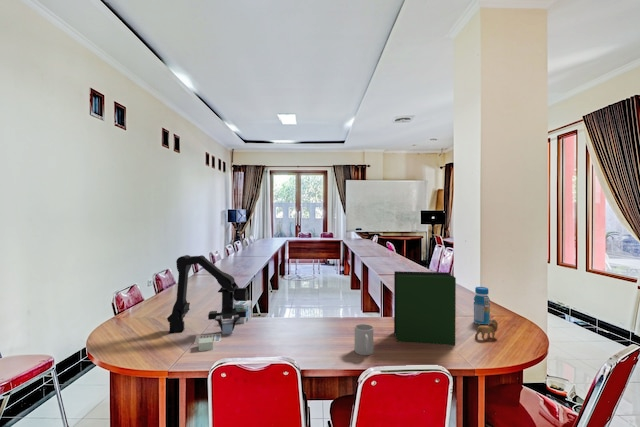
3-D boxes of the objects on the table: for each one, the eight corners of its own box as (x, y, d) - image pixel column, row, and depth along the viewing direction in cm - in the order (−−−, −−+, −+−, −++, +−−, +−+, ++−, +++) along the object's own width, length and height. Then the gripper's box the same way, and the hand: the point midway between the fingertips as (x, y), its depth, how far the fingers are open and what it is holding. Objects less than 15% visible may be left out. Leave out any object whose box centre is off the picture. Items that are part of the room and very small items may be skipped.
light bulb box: (244, 324, 188) (244, 304, 188) (233, 323, 189) (233, 304, 189) (252, 318, 198) (252, 300, 198) (241, 317, 200) (241, 299, 200)
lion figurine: (490, 334, 173) (490, 317, 173) (500, 337, 169) (500, 319, 169) (471, 339, 167) (471, 321, 166) (481, 343, 162) (481, 324, 162)
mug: (353, 347, 156) (353, 324, 156) (371, 347, 156) (371, 323, 156) (357, 359, 144) (357, 333, 144) (376, 358, 144) (377, 333, 144)
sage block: (198, 352, 150) (198, 343, 150) (199, 347, 156) (199, 338, 156) (212, 350, 152) (212, 341, 152) (212, 345, 158) (212, 337, 158)
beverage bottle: (473, 324, 189) (474, 288, 189) (473, 319, 197) (473, 285, 197) (490, 326, 186) (490, 290, 186) (489, 321, 194) (489, 286, 194)
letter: (193, 344, 159) (193, 343, 159) (196, 336, 169) (196, 335, 169) (220, 342, 162) (220, 341, 162) (221, 334, 172) (221, 333, 172)
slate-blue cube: (222, 334, 171) (222, 325, 171) (222, 331, 176) (222, 321, 176) (232, 334, 173) (232, 324, 173) (232, 330, 177) (232, 321, 177)
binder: (396, 342, 162) (396, 276, 162) (393, 331, 177) (394, 270, 177) (455, 345, 159) (455, 277, 159) (447, 334, 174) (447, 272, 173)
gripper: (207, 306, 164) (207, 338, 164) (246, 303, 169) (246, 334, 169) (209, 300, 175) (209, 330, 175) (245, 298, 180) (245, 327, 180)
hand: (227, 330), depth 174 cm, fingers closed on slate-blue cube, 5 cm apart
